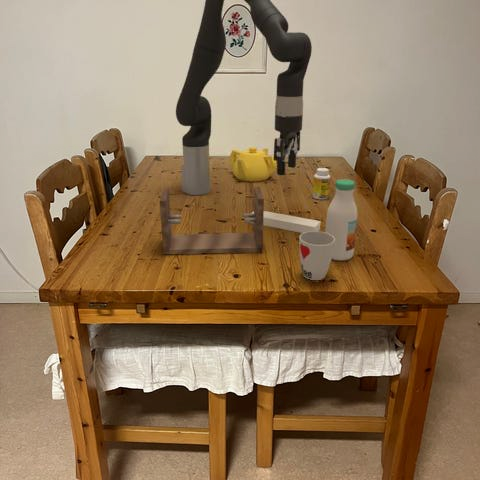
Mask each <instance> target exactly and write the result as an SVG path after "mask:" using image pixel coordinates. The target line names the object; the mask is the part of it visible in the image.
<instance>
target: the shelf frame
mask: <svg viewBox="0 0 480 480" xmlns="http://www.w3.org/2000/svg"><path fill="white" fill-rule="evenodd" d="M253 190H254V191H253V211H254V213H252V212H250V213H249V212H248V213H243V218H244V223H249V222H254V223H253V232H223V233H222V232H219V233H218V232H217V233H216V232H215V233H180V234H179V233H178V234H175V233H174V234H172V232H173V231H172V225H180V224H181V220H182V215H181V214H171V205H170V204H171V201H170V200H171V199H170V188H169V187H167V188H165V187H163V188H162V191H161V194H160V198H159V210H160V213H159V214H160V224H161V238H162V251H163V252H162V253H163V255H164V254H189V255H203V254H202V253H219V255H220V253H228V254H255V253H256V254H259V253H258V252H263V251H264V250H263V249H264V225H263V214H264V211H265V210H264V205H265V198H264V195H263V192H262V189H261V187H260V186H254V189H253ZM263 253H264V252H263Z"/></svg>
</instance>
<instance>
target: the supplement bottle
mask: <svg viewBox="0 0 480 480" xmlns="http://www.w3.org/2000/svg"><path fill="white" fill-rule="evenodd" d="M329 170H330V169H329V168H325V167H317V169H316V173H315V174H314V175H313V187H312V198H314V199H316V200H319V201H320V200H322V201H323V200H327V199H328V198H329V196H330V195H329V194H330V185H331V175H330V174H329Z"/></svg>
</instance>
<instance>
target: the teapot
mask: <svg viewBox="0 0 480 480" xmlns="http://www.w3.org/2000/svg"><path fill="white" fill-rule="evenodd" d="M268 153H269V148H263V149H262V150H260V149H259V150H258V147H255V146H251V147H249V148H248V149H247V150H246V149H245V150H243V151H240V150H238V149H235V148H234V149H232V150H231V152H230V156H229V159H228V163H229V165H231V167H233V169H232V171H233V172H232V173H233V175H234V176H235V177H236V179H238V180H240V181H242V182H248V181H249V183H250V182H251V183H253V182H255V183H256V182H263V180H264V181H267V180H268V179H269V178H270V177H271V175H272V174H273V173H274V172H275V171H277V161H274V154H273V155H268Z"/></svg>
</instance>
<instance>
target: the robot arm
mask: <svg viewBox="0 0 480 480" xmlns="http://www.w3.org/2000/svg"><path fill="white" fill-rule="evenodd" d="M243 1H244V2H245V3H246V4H247V5H248V7H249V9H250V10H249V12H250V17H251V20H252V23H253V24H254V26H255V27H256V28H257V30H258V31H259V32H260V33H261V35H262V36H263V37H264V38H265V39H264V40H265V41H266V44H267V47H268V49H269V52H270V54H271V55H272V57H273V58H274V59H275V60H276V61H277V62H280V63H289V65H288V67H287V69H286V70H284V71H281V72H280V73H279V74H278V75H277V78H276V79H277V80H276V97H275V102H274V103H275V106H274V131H277V132H279V138H276V137H275V138H274V142H273V143H274V144H273V145H274V146H273V155H274V161H276V163H277V169H276V174H277V175H279V176H284V175H285V174H286V167H288V168H293V169H295V168H296V166H297V155H298V152H300V150H301V147H300V146H301V131H302V130H303V118H304V117H303V116H304V97H303V96H304V82H305V81H304V80H305V76H306V74H307V70H308V66H309V62H310V60H311V56H312V49H313V47H312V41H311V39H310V37H309V35H308V34H307V33H305V32H301V31H300V32H299V31H298V32H296V31H295V32H289V22H288V20H287V18H286V17H285V16H284V14H283V13H281V11H280V10H279V9H278V8H277V7H276V5H274V3H273V2H272V1H271V0H243ZM224 2H225V0H205V2H204V6H203V7H204V8H203V13H202V16H201V22H200V24H199V28H198V32H197V36H196V39H195V43H194V46H193V50H192V55H191V60H190V63H189V67H188V71H187V74H186V77H185V81H184V83H183V86H182V89H181V92H180V94H179V96H178V99H177V103H176V107H175V117H176V120H177V122H178V123H179V124H180V125H181V126H183V127H189V130H188V131H187V132H186V133H185V134H184V135H183V136H182V144H181V145H182V159H183V161H182V162H183V165H182V166H181V167H180V169H181V171H180V172H181V185H182V186H181V188H182V189H181V190H182V193H185V194H187V195H191V196H203V195H206V194H210V192H211V175H210V174H211V173H210V165H211V164H210V138H211V135H212V108H211V104H210V101H209V100H208V99H207V97H204V96H202V93H203V91H204V90H205V88H206V86H207V84H208V83H209V82H210V80H211V79H212V78H213V77H214V75H215V74H216V72H218V70H219V69H220V66H221V64H222V60H223V58H224V54H225V50H226V47H227V38H226V32H225V27H224V24H223V18H222V17H223V8H224ZM286 162H287V163H286ZM286 164H287V165H286Z"/></svg>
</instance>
